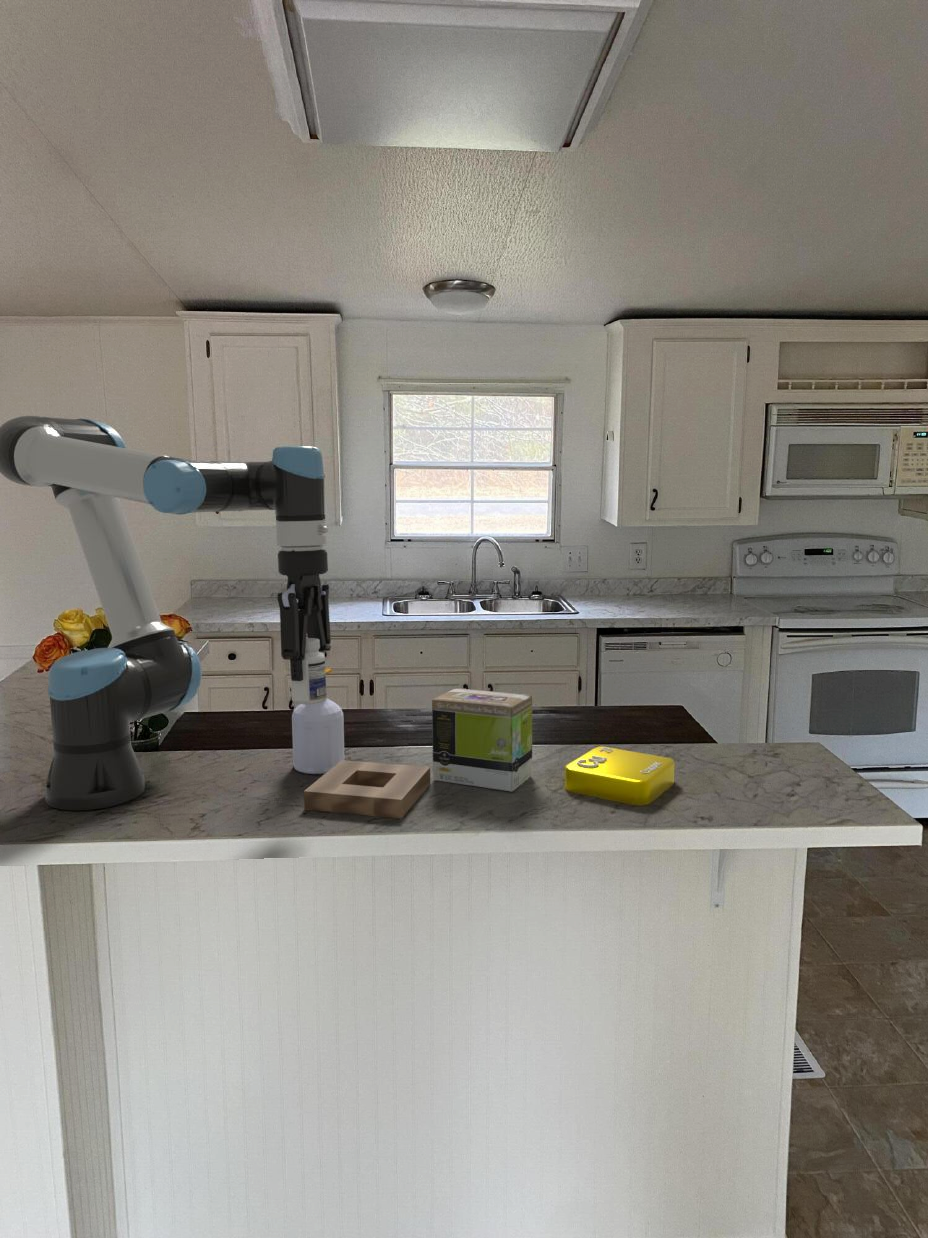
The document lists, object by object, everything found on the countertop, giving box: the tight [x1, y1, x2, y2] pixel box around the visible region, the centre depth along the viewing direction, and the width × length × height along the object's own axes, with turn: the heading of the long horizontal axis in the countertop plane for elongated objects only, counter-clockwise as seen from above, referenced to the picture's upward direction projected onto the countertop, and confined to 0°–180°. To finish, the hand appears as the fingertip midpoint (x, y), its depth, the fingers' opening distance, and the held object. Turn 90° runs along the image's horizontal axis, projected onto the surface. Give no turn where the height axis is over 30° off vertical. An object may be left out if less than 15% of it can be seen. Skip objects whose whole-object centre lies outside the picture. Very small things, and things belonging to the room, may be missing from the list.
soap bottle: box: [291, 667, 345, 775], centre depth 157 cm, size 9×9×25 cm
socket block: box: [303, 759, 431, 819], centre depth 144 cm, size 16×16×3 cm
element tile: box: [564, 746, 676, 806], centre depth 149 cm, size 15×15×5 cm
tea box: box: [431, 687, 533, 793], centre depth 152 cm, size 15×10×15 cm, turn 65°
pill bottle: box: [292, 637, 328, 705], centre depth 138 cm, size 5×5×10 cm
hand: (309, 695), depth 139 cm, fingers closed on pill bottle, 5 cm apart
